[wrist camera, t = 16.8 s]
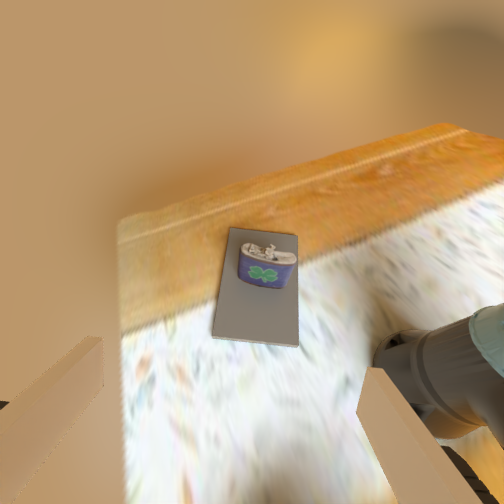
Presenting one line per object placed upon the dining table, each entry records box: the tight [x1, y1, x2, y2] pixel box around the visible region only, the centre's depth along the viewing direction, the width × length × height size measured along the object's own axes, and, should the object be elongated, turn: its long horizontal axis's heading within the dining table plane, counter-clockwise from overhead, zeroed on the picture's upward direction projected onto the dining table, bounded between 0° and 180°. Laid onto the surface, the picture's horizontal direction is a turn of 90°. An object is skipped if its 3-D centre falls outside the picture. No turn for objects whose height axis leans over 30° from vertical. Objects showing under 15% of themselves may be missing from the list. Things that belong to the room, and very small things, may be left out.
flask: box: [238, 243, 297, 289], centre depth 43 cm, size 9×3×11 cm, turn 78°
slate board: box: [212, 228, 299, 348], centre depth 48 cm, size 14×22×2 cm, turn 175°
